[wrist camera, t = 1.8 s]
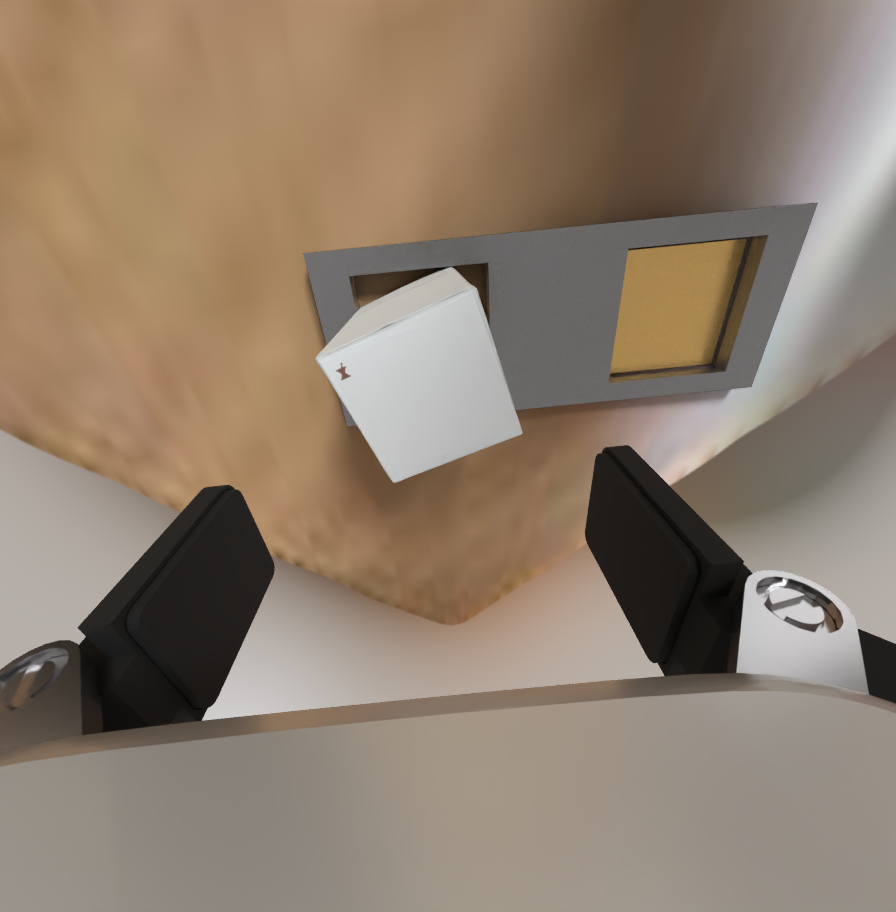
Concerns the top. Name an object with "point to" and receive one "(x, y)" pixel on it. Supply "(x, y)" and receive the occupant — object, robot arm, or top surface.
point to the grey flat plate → (606, 300)
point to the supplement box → (422, 375)
